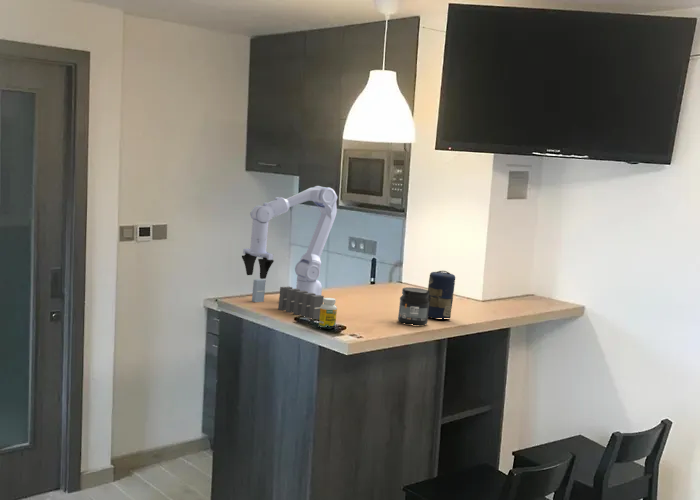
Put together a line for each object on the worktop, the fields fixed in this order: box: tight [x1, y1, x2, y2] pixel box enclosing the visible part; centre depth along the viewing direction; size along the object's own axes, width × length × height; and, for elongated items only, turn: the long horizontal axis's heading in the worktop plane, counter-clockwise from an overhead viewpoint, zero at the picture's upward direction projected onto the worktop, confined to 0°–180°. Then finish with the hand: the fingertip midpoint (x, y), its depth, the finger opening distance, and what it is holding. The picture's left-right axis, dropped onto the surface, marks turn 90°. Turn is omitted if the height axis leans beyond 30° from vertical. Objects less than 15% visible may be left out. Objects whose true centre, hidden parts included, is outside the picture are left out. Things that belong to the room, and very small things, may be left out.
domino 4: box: [293, 291, 308, 316], centre depth 263 cm, size 2×4×8 cm, turn 136°
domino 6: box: [308, 294, 325, 320], centre depth 258 cm, size 2×4×8 cm, turn 135°
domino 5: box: [300, 293, 316, 318], centre depth 260 cm, size 2×4×8 cm, turn 135°
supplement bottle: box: [318, 297, 338, 327], centre depth 245 cm, size 5×5×10 cm
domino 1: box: [251, 278, 266, 303], centre depth 279 cm, size 2×4×8 cm, turn 136°
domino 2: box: [277, 286, 293, 311], centre depth 269 cm, size 2×4×8 cm, turn 135°
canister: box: [427, 270, 456, 319], centre depth 280 cm, size 10×10×18 cm
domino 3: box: [285, 288, 300, 314], centre depth 266 cm, size 2×4×8 cm, turn 135°
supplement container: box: [397, 286, 430, 326], centre depth 267 cm, size 10×10×12 cm
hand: (256, 276), depth 273 cm, fingers open, 7 cm apart
